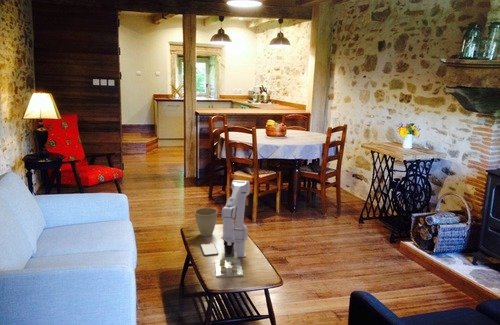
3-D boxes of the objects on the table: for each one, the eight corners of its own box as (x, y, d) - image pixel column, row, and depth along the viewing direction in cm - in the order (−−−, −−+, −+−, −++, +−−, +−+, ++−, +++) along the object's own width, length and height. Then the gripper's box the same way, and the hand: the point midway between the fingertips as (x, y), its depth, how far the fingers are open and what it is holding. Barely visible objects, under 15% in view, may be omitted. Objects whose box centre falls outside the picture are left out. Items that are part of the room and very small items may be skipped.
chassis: (215, 262, 234) (214, 254, 233) (239, 261, 236) (239, 253, 235) (216, 277, 216) (216, 269, 216) (243, 276, 218) (243, 268, 217)
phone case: (219, 256, 244) (214, 245, 259) (219, 253, 243) (214, 242, 258) (203, 257, 242) (199, 246, 257) (203, 255, 241) (199, 244, 256)
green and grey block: (221, 253, 230) (221, 243, 228) (236, 252, 231) (235, 242, 229) (222, 262, 219) (222, 252, 218) (237, 261, 220) (237, 251, 219)
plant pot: (193, 231, 280) (193, 208, 277) (215, 229, 284) (215, 207, 281) (196, 239, 266) (196, 215, 263) (219, 237, 270) (219, 214, 267)
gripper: (220, 224, 228) (220, 247, 231) (221, 234, 214) (221, 258, 217) (233, 223, 229) (233, 247, 232) (235, 233, 215) (235, 258, 217)
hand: (228, 252), depth 224 cm, fingers closed on green and grey block, 4 cm apart
